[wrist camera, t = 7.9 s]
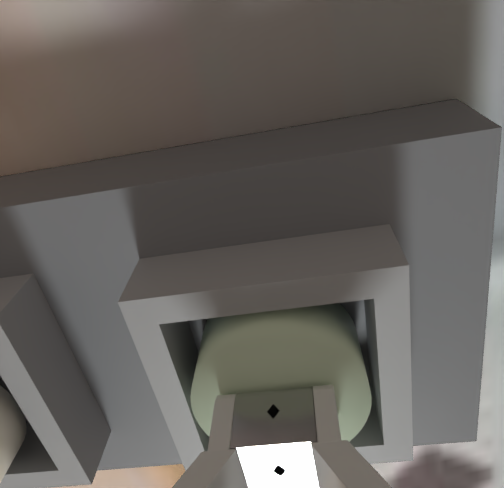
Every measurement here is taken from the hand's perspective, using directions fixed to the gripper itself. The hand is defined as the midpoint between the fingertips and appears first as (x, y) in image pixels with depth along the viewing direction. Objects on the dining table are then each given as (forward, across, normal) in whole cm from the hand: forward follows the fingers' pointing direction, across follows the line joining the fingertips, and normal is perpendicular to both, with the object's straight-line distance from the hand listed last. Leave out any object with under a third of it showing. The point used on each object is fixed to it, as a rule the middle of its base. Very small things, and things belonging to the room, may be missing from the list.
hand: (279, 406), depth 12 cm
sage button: (+2, 0, 0) cm, 2 cm away
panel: (+6, +10, 0) cm, 11 cm away
